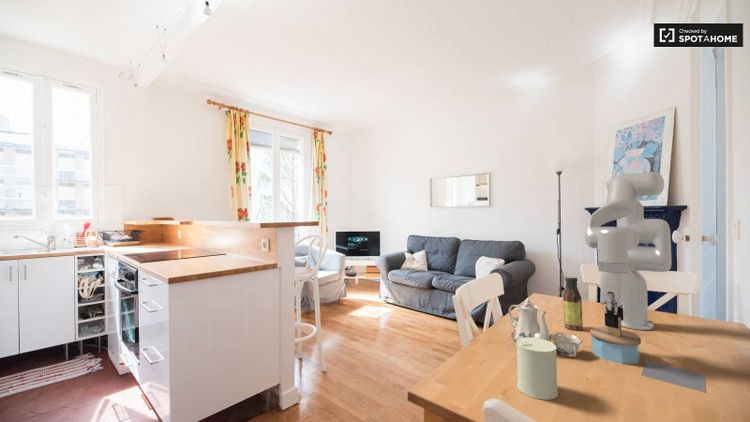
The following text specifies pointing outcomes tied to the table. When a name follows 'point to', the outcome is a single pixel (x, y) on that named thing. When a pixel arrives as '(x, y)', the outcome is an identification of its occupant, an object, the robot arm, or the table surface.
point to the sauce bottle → (572, 305)
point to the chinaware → (540, 329)
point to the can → (537, 368)
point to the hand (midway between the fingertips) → (614, 323)
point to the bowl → (615, 352)
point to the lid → (615, 335)
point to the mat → (674, 376)
